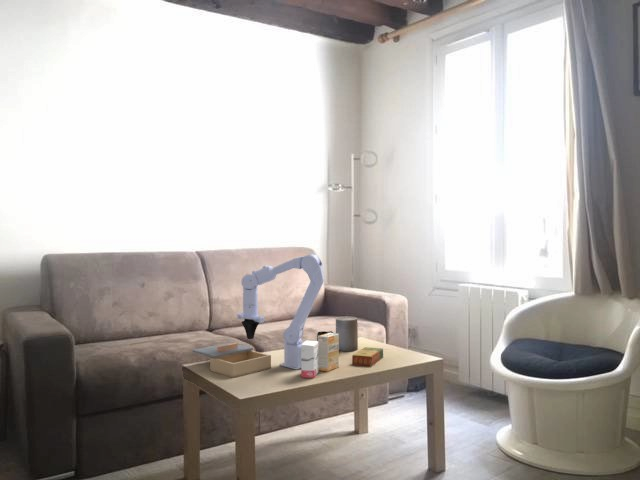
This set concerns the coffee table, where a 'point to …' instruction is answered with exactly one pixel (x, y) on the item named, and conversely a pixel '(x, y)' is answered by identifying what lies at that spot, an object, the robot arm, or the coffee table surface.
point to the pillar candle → (347, 333)
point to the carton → (367, 356)
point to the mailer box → (240, 363)
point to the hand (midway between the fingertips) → (250, 338)
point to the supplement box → (328, 351)
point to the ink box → (309, 359)
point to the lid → (222, 350)
